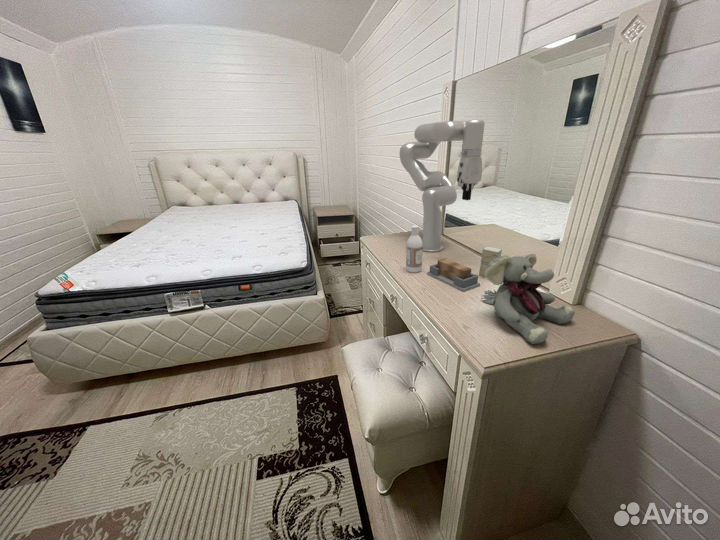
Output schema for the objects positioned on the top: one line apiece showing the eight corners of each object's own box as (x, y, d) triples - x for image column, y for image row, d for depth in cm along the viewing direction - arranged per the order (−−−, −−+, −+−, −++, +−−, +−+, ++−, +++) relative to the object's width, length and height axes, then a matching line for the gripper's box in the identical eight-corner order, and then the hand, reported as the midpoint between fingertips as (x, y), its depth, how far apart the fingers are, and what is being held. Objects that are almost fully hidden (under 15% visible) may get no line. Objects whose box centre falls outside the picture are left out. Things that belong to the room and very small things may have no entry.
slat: (436, 273, 124) (437, 260, 122) (443, 271, 126) (444, 258, 123) (462, 285, 113) (464, 271, 110) (469, 282, 115) (471, 268, 112)
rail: (427, 274, 126) (427, 265, 124) (442, 269, 130) (443, 261, 129) (463, 291, 110) (464, 282, 108) (479, 285, 114) (481, 276, 112)
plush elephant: (582, 325, 88) (601, 261, 80) (536, 350, 78) (553, 280, 70) (504, 291, 110) (513, 237, 101) (460, 307, 100) (466, 250, 92)
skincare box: (478, 276, 122) (481, 248, 117) (482, 273, 125) (486, 245, 120) (493, 280, 118) (498, 252, 113) (497, 276, 121) (502, 248, 116)
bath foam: (413, 274, 127) (414, 229, 119) (402, 269, 132) (403, 226, 124) (425, 270, 130) (427, 226, 122) (414, 265, 135) (415, 223, 128)
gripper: (465, 155, 113) (460, 203, 120) (491, 153, 119) (485, 198, 126) (450, 154, 119) (447, 200, 126) (476, 152, 125) (471, 196, 133)
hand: (466, 199), depth 126 cm, fingers closed
